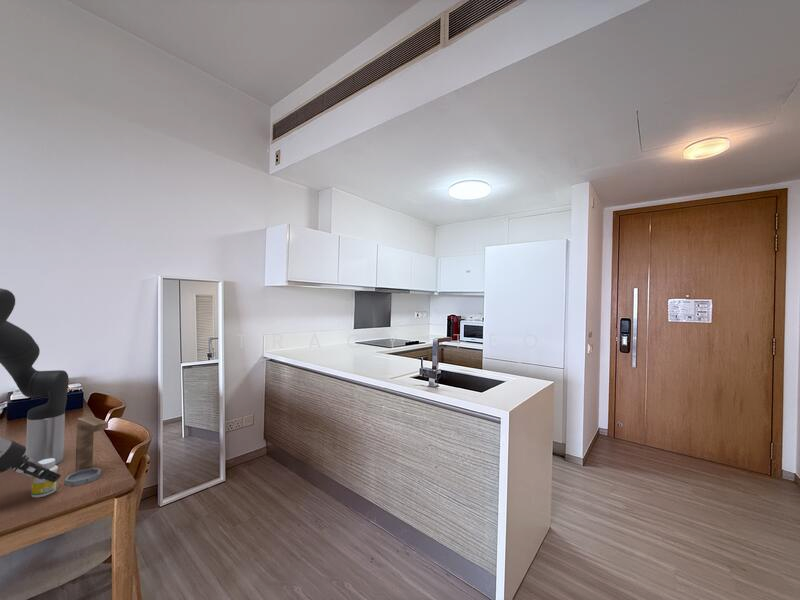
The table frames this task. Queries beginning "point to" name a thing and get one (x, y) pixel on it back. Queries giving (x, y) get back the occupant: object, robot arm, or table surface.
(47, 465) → the supplement bottle
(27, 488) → the table surface
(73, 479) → the locator ring
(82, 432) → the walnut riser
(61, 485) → the table surface
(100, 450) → the table surface
